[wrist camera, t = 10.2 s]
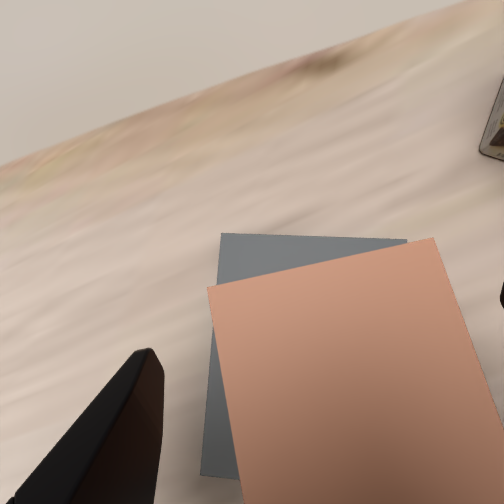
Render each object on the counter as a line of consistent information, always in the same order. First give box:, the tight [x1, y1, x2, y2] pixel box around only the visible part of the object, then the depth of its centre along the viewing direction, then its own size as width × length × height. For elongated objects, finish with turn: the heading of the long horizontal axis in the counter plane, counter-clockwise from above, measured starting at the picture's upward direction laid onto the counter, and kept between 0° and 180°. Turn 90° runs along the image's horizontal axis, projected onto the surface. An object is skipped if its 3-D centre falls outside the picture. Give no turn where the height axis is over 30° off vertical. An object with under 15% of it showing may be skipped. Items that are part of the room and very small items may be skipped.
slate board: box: [200, 233, 407, 480], centre depth 17 cm, size 12×10×1 cm
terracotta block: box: [207, 238, 504, 504], centre depth 11 cm, size 5×5×10 cm
